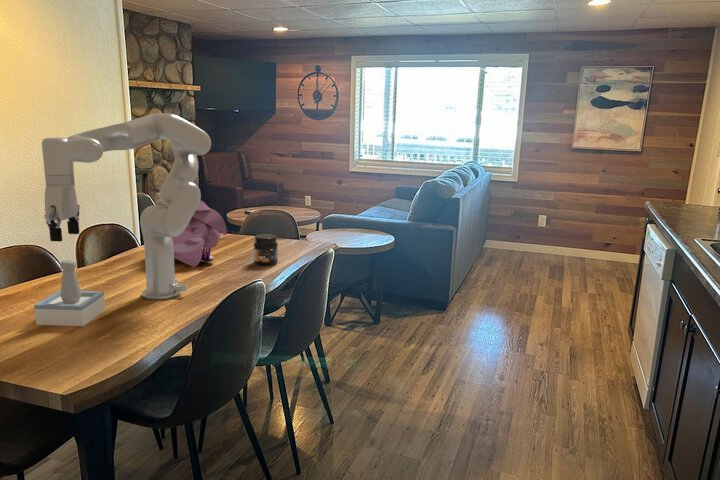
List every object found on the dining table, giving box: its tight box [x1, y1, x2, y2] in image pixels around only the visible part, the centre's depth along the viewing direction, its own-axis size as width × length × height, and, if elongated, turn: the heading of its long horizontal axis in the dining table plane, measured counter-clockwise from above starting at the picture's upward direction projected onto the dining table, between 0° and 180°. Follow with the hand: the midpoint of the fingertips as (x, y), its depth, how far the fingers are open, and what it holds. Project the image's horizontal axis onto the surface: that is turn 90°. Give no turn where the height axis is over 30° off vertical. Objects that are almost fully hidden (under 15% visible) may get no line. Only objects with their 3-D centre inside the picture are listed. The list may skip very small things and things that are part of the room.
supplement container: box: [252, 233, 279, 266], centre depth 233 cm, size 10×10×12 cm
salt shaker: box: [59, 259, 82, 304], centre depth 163 cm, size 6×6×13 cm
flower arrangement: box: [172, 199, 227, 268], centre depth 232 cm, size 35×24×28 cm
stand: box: [33, 289, 106, 327], centre depth 165 cm, size 14×14×6 cm
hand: (65, 237), depth 160 cm, fingers open, 9 cm apart
